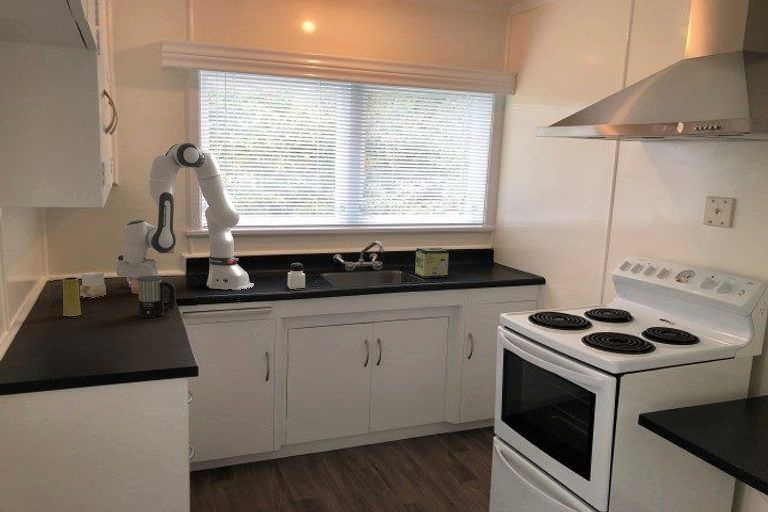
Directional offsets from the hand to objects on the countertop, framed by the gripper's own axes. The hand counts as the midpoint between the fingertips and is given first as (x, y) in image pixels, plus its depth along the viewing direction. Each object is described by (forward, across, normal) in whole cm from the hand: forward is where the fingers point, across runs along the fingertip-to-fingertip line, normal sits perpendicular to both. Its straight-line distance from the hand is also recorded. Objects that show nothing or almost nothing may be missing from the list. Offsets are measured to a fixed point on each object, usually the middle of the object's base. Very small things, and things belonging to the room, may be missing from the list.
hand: (137, 287), depth 264 cm
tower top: (-3, +11, +14) cm, 18 cm away
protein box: (+2, -106, -109) cm, 152 cm away
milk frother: (+2, -31, +24) cm, 39 cm away
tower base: (+2, +11, +14) cm, 18 cm away
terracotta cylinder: (+2, 0, 0) cm, 2 cm away
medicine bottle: (+2, -56, -44) cm, 71 cm away
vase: (+2, -7, +42) cm, 43 cm away
